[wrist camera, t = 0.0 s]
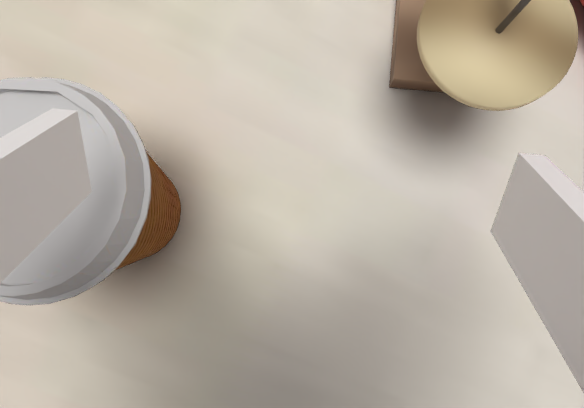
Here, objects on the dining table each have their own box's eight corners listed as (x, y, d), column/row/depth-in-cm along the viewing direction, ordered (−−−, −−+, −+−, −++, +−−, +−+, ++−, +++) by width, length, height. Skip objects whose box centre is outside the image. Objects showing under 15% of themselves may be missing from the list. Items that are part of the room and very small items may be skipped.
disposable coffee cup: (233, 190, 29) (187, 147, 17) (150, 313, 28) (41, 359, 16) (117, 113, 30) (-7, 21, 18) (32, 232, 29) (-156, 219, 17)
